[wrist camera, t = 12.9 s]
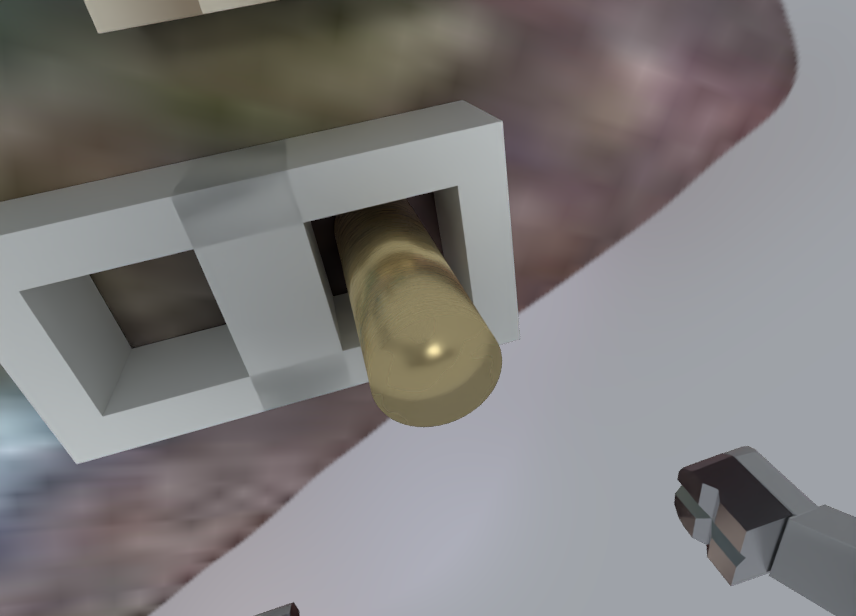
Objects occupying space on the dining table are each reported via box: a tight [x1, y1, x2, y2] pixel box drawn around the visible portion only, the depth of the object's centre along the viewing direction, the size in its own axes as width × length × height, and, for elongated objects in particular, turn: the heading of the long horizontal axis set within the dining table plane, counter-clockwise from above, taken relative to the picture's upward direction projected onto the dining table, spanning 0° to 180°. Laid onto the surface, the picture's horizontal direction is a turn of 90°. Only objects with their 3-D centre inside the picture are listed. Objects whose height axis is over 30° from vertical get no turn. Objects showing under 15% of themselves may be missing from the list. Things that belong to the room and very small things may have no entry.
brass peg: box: [334, 198, 502, 427], centre depth 20 cm, size 4×4×12 cm
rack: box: [0, 100, 520, 464], centre depth 23 cm, size 20×10×5 cm, turn 99°
